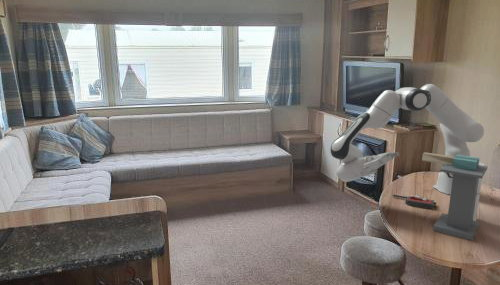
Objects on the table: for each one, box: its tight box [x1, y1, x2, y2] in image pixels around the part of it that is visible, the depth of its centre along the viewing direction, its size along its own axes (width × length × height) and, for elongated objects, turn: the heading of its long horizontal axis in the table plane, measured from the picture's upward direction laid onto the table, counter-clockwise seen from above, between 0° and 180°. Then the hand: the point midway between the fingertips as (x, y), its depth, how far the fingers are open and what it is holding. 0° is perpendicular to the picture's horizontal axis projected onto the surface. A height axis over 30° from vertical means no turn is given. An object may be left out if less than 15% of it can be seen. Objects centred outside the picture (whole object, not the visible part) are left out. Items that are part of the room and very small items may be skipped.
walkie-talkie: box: [392, 194, 437, 210], centre depth 181 cm, size 9×4×20 cm
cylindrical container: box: [473, 161, 485, 221], centre depth 162 cm, size 7×7×25 cm
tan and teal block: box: [421, 151, 480, 171], centre depth 154 cm, size 8×20×4 cm, turn 52°
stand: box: [433, 164, 488, 241], centre depth 152 cm, size 16×14×26 cm
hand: (395, 155), depth 169 cm, fingers open, 8 cm apart
